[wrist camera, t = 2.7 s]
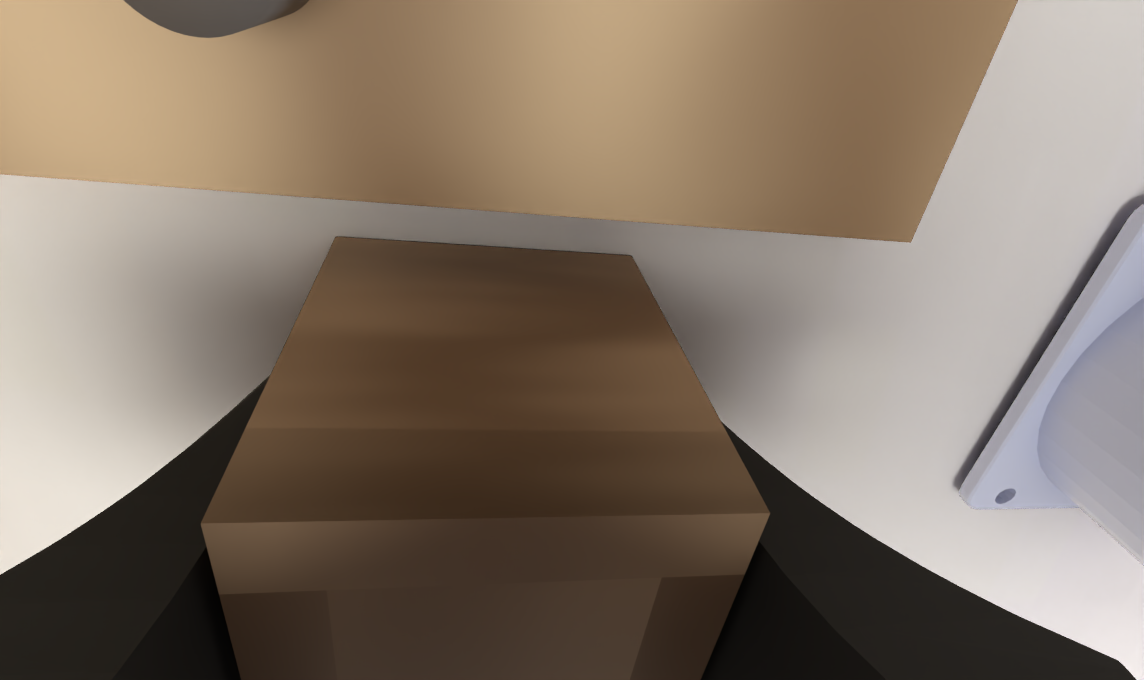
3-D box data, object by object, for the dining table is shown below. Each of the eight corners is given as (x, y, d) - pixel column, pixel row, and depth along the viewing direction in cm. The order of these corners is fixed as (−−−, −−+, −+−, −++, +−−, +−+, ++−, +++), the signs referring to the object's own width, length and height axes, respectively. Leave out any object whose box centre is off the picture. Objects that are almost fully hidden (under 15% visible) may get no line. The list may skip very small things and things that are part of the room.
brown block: (631, 255, 11) (770, 513, 6) (590, 464, 13) (663, 768, 8) (336, 236, 10) (200, 523, 5) (352, 465, 13) (274, 807, 8)
